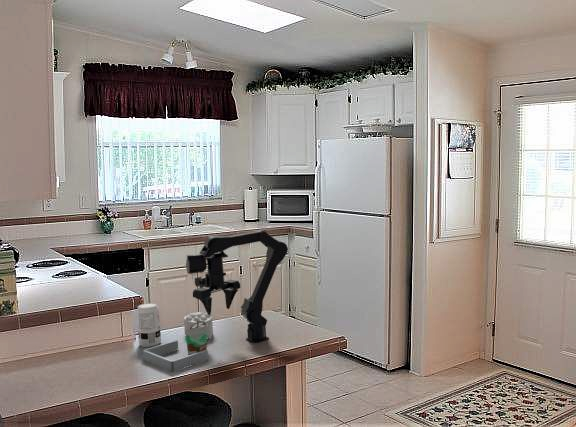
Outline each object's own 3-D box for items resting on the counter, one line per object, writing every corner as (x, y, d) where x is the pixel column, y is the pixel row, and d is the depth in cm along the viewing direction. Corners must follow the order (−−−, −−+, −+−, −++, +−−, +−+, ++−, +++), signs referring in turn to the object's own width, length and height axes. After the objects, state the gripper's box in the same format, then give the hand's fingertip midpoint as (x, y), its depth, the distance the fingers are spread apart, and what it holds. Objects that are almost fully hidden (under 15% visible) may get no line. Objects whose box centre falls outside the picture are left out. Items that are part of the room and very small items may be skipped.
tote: (177, 349, 220) (176, 340, 219) (207, 360, 206) (206, 350, 206) (142, 359, 210) (142, 350, 210) (172, 372, 197) (171, 361, 196)
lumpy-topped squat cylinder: (207, 329, 243) (206, 308, 242) (217, 338, 231) (216, 316, 230) (182, 333, 239) (181, 312, 238) (191, 342, 227) (189, 320, 226)
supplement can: (134, 345, 227) (132, 306, 226) (153, 339, 233) (150, 301, 232) (147, 349, 222) (144, 309, 220) (165, 343, 228) (162, 304, 226)
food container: (203, 357, 209) (201, 330, 208) (186, 357, 211) (184, 329, 210) (214, 346, 221) (212, 320, 220) (198, 345, 223) (197, 319, 222)
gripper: (220, 263, 231) (223, 303, 233) (181, 273, 217) (185, 315, 219) (239, 266, 223) (242, 306, 225) (201, 276, 210) (204, 319, 211)
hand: (218, 311), depth 220 cm, fingers open, 9 cm apart
